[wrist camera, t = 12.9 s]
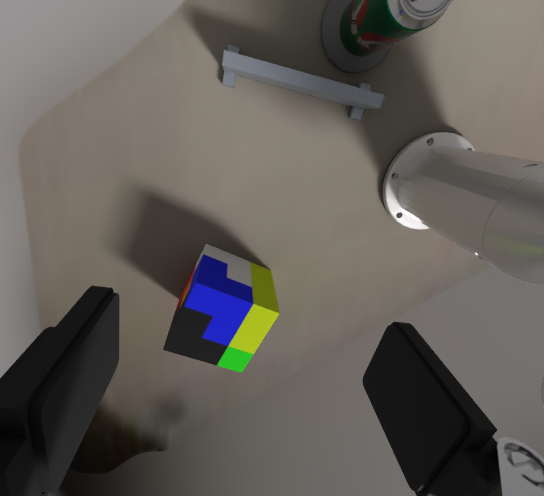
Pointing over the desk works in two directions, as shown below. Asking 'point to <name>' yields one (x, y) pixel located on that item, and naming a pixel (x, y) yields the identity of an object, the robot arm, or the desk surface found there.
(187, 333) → the puzzle toy
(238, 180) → the desk surface
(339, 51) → the coaster
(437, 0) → the soda can
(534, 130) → the desk surface
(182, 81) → the desk surface
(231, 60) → the divider
